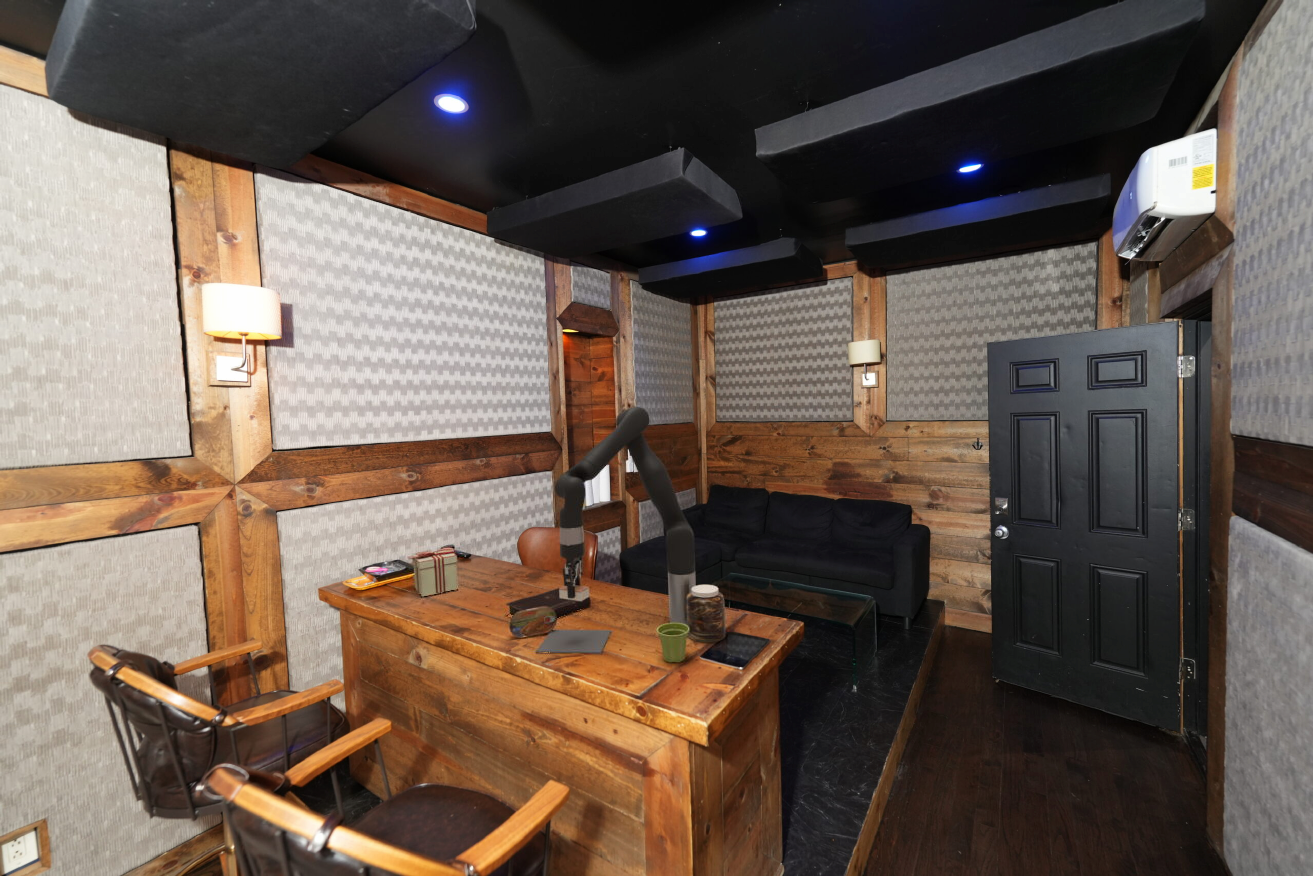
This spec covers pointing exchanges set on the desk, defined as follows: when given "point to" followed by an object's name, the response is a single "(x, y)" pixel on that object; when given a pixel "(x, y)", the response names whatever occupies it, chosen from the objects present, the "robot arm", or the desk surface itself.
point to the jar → (705, 614)
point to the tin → (533, 622)
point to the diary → (549, 603)
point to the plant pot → (673, 641)
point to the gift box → (435, 571)
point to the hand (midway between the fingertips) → (574, 594)
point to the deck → (580, 593)
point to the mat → (575, 641)
